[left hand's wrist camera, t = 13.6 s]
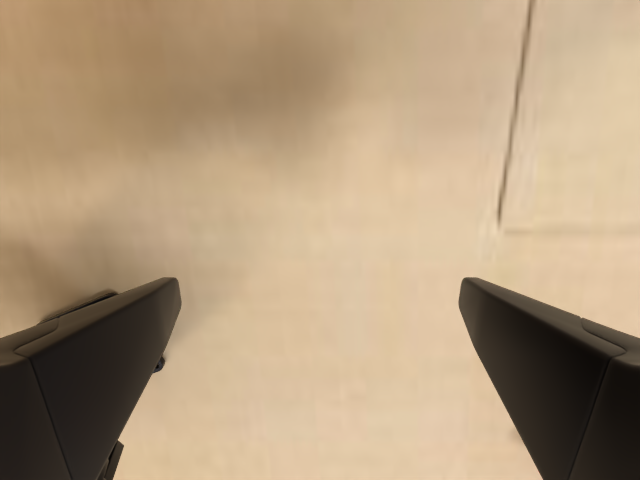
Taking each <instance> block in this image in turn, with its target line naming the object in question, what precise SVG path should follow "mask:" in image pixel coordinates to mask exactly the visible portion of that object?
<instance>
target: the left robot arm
mask: <svg viewBox="0 0 640 480" xmlns="http://www.w3.org/2000/svg"><path fill="white" fill-rule="evenodd" d="M180 309H181V296H180V289H179V283H178V280H177V279H176V278H174V277H164V278H161V279H158V280H155V281H153V282H150V283H147V284H145V285H142V286H139V287H137V288H134V289H132V290H129V291H126V292H124V293H121V294H118V295H117V294H115V293H109V294H106V295H104V296H102V297H99V298H97V299H94V300H92V301H89V302H87V303H85V304H82V305H80V306H77V307H75V308H73V309H70V310H68V311H65V312H63V313H61V314H58V315H56V316H53V317H51V318H49V319H46V320H44V321H41V322H40V323H38V324H37V325H36V326H34V327H31V328H28V329H26V330H23V331H20V332H17V333H14V334H11V335H8V336H6V337H3V338H0V480H113V477H114V474H115V471H116V468H117V465H118V462H119V459H120V456H121V453H122V450H123V447H124V445H123V444H122V443H120V442H119V441H118V438H119V436H120V434H121V432H122V431H123V429H124V427H125V425H126V423H127V421H128V419H129V417H130V415H131V413H132V411H133V409H134V408H135V406H136V404H137V402H138V400H139V398H140V396H141V394H142V392H143V390H144V388H145V387H146V385H147V383H148V381H149V379H150V377H151V375H152V373H155V372H158V371H160V370H161V369H162V368H163V366H164V365H165V361H164V359H163V358H162V354H163V352H164V350H165V348H166V346H167V343H168V341H169V338H170V335H171V333H172V330H173V327H174V325H175V322H176V319H177V317H178V314H179V311H180ZM459 309H460V311H461V314H462V317H463V319H464V322H465V325H466V327H467V330H468V333H469V335H470V338H471V341H472V343H473V346H474V348H475V350H476V352H477V354H478V356H479V358H480V360H481V362H482V364H483V365H484V367H485V369H486V371H487V373H488V375H489V377H490V379H491V381H492V383H493V385H494V387H495V388H496V390H497V392H498V394H499V396H500V398H501V400H502V402H503V404H504V406H505V408H506V409H507V411H508V413H509V415H510V417H511V419H512V421H513V423H514V425H515V427H516V429H517V431H518V432H519V434H520V436H521V438H522V440H523V442H524V444H525V446H526V448H527V450H528V452H529V454H530V455H531V457H532V459H533V461H534V463H535V465H536V467H537V469H538V471H539V473H540V475H541V476H542V478H543V480H640V338H637V337H634V336H632V335H629V334H626V333H623V332H620V331H617V330H614V329H612V328H609V327H606V326H604V325H601V324H598V323H595V322H593V321H590V320H587V319H585V318H580V317H579V316H577V315H574V314H572V313H569V312H566V311H564V310H561V309H558V308H556V307H553V306H551V305H548V304H545V303H543V302H540V301H537V300H535V299H532V298H529V297H527V296H524V295H522V294H519V293H516V292H514V291H511V290H508V289H506V288H503V287H501V286H498V285H495V284H493V283H490V282H487V281H485V280H482V279H479V278H472V277H466V278H464V279H463V280H462V283H461V289H460V296H459ZM157 364H159V365H157Z"/></svg>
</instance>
